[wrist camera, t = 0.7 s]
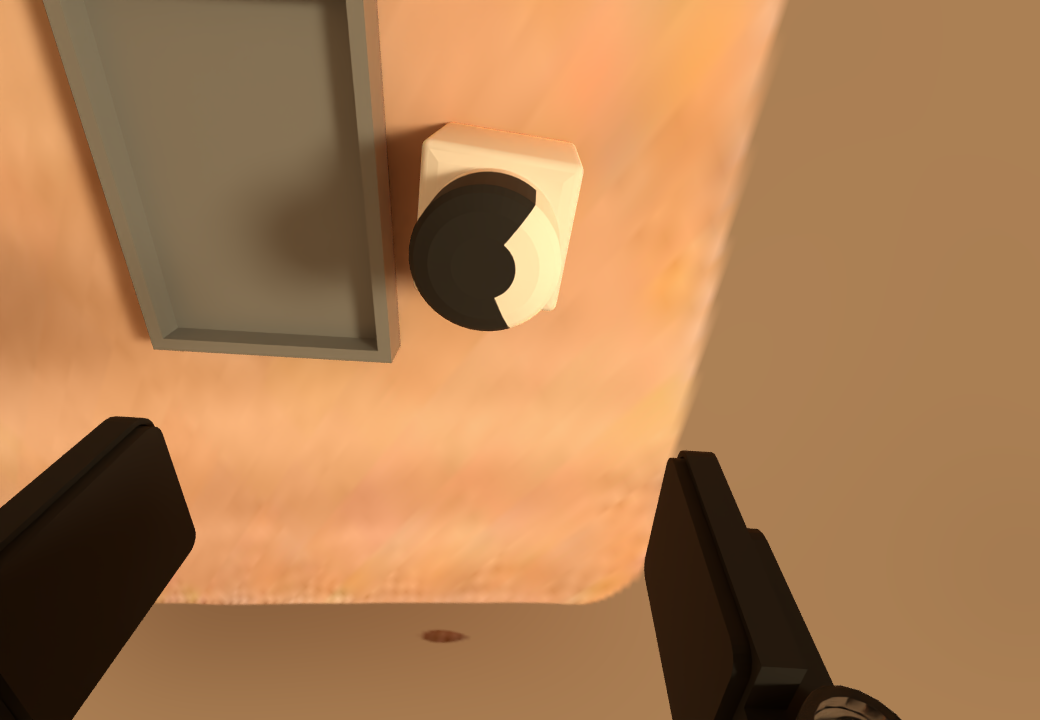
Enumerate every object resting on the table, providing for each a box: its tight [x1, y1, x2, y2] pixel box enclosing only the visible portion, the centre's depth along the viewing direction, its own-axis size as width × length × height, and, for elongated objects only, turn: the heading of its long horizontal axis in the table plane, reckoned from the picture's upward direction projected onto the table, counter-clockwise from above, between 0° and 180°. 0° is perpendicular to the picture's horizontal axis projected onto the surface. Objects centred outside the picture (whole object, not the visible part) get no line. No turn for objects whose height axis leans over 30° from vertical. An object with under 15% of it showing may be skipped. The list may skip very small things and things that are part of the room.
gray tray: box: [43, 0, 400, 363], centre depth 30 cm, size 20×15×2 cm
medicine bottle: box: [409, 122, 583, 331], centre depth 26 cm, size 7×7×12 cm
